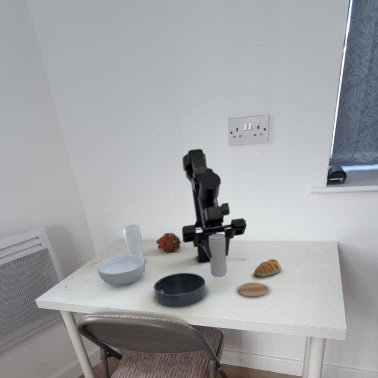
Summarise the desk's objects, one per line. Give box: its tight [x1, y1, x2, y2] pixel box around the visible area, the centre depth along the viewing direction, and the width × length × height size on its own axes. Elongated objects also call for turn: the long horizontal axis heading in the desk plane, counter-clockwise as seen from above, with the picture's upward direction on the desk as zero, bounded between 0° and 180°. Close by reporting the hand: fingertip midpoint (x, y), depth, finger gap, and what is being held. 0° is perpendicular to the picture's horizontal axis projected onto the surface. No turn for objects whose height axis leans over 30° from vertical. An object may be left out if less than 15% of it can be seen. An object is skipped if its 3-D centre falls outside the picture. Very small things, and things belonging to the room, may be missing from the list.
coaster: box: [238, 282, 269, 298], centre depth 102 cm, size 9×9×1 cm
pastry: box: [254, 258, 282, 278], centre depth 112 cm, size 9×7×4 cm
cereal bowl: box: [96, 254, 146, 287], centre depth 117 cm, size 17×17×7 cm
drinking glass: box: [121, 223, 145, 260], centre depth 131 cm, size 7×7×15 cm
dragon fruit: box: [156, 232, 182, 253], centre depth 141 cm, size 8×8×12 cm
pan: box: [153, 272, 207, 308], centre depth 104 cm, size 16×16×4 cm
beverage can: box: [209, 233, 228, 278], centre depth 96 cm, size 5×5×12 cm
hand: (218, 256), depth 95 cm, fingers closed on beverage can, 5 cm apart
